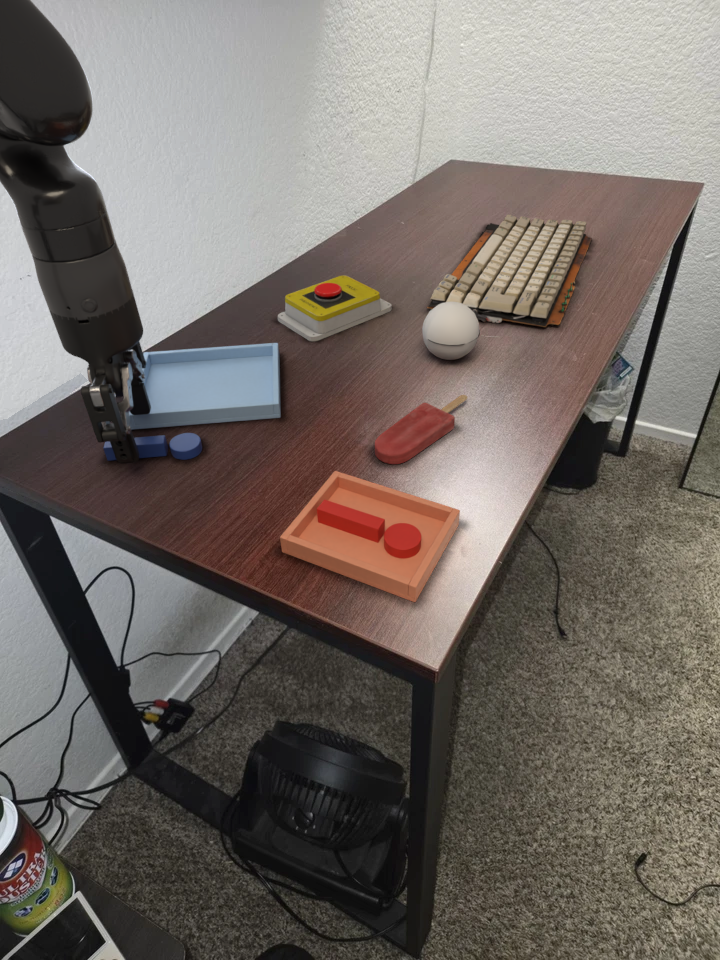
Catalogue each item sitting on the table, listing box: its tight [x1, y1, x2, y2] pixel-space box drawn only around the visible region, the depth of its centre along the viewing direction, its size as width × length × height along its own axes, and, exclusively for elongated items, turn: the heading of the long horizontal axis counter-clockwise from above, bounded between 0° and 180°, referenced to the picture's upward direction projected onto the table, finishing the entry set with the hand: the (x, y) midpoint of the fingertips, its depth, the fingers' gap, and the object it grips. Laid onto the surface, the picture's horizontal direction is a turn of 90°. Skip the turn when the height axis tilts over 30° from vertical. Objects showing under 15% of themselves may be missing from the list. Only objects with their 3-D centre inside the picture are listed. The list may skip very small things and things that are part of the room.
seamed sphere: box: [421, 302, 500, 361], centre depth 84 cm, size 10×7×7 cm
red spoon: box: [317, 499, 421, 559], centre depth 61 cm, size 10×3×2 cm, turn 63°
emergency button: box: [277, 274, 393, 342], centre depth 95 cm, size 9×4×15 cm
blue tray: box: [129, 342, 282, 431], centre depth 81 cm, size 17×14×2 cm
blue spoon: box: [102, 432, 203, 462], centre depth 72 cm, size 10×3×2 cm, turn 96°
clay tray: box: [279, 470, 461, 603], centre depth 61 cm, size 13×10×2 cm
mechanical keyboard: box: [426, 213, 593, 328], centre depth 105 cm, size 38×19×3 cm, turn 158°
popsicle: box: [374, 394, 468, 465], centre depth 74 cm, size 4×2×15 cm
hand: (135, 436), depth 71 cm, fingers open, 8 cm apart
